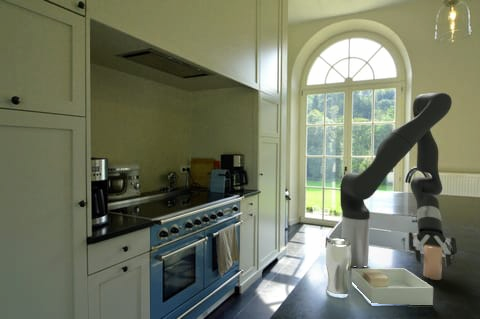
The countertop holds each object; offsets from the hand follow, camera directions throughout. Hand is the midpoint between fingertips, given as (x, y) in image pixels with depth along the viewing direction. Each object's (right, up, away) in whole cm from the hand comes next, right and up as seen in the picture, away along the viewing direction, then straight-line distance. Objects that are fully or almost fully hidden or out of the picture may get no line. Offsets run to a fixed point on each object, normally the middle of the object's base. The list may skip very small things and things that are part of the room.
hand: (433, 264), depth 97 cm
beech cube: (-25, -4, -11) cm, 27 cm away
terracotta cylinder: (+1, -4, +2) cm, 5 cm away
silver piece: (-35, -5, -11) cm, 37 cm away
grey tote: (-20, -5, -11) cm, 23 cm away
